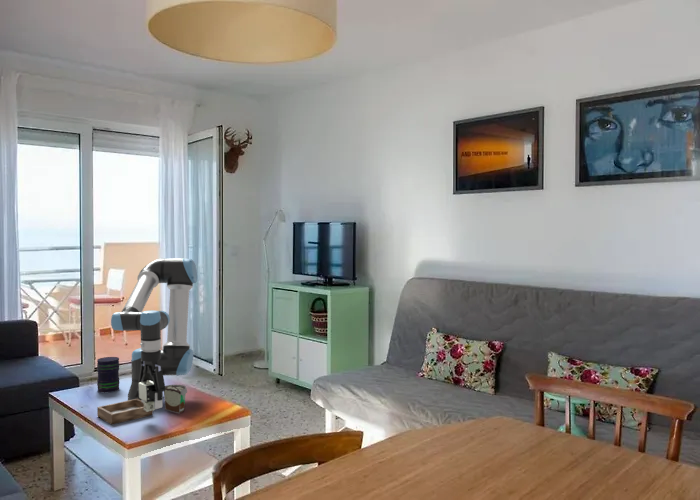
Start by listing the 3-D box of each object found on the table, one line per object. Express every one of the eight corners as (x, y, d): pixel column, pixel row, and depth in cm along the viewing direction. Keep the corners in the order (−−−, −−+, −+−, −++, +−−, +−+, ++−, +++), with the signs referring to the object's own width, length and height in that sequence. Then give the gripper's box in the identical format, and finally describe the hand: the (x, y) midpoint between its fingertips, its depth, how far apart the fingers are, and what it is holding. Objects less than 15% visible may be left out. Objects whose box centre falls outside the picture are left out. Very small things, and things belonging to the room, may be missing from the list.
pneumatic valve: (149, 414, 220) (147, 384, 219) (138, 408, 229) (136, 379, 228) (163, 411, 223) (161, 381, 223) (151, 405, 232) (150, 376, 232)
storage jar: (115, 386, 280) (115, 355, 280) (122, 390, 273) (122, 359, 272) (94, 389, 274) (94, 358, 273) (100, 393, 266) (100, 362, 266)
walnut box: (137, 407, 245) (137, 398, 245) (152, 414, 236) (152, 405, 235) (97, 416, 233) (97, 407, 233) (111, 424, 223) (111, 414, 223)
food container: (193, 410, 242) (193, 387, 241) (181, 414, 237) (181, 390, 236) (174, 405, 249) (174, 382, 248) (162, 409, 244) (162, 385, 243)
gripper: (128, 346, 230) (129, 400, 231) (156, 356, 214) (156, 414, 215) (146, 343, 236) (147, 396, 237) (174, 353, 219) (175, 409, 221)
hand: (151, 404), depth 226 cm, fingers closed on pneumatic valve, 11 cm apart
